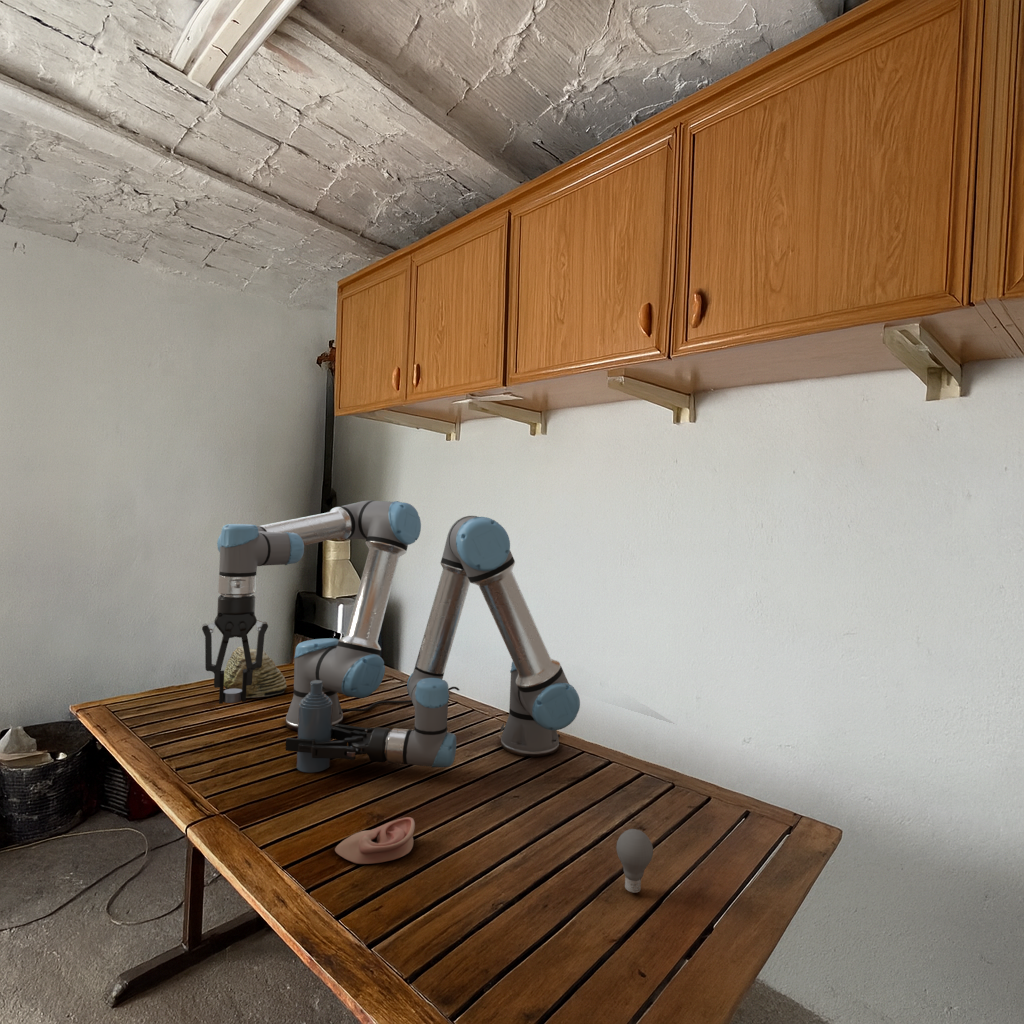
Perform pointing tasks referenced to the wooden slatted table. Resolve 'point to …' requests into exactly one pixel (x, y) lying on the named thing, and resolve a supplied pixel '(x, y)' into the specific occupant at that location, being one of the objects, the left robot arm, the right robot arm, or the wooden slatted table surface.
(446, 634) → the right robot arm
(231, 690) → the cap
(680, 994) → the wooden slatted table surface
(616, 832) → the wooden slatted table surface
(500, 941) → the wooden slatted table surface
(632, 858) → the light bulb
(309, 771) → the bottle
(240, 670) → the fossil
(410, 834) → the anatomical model
